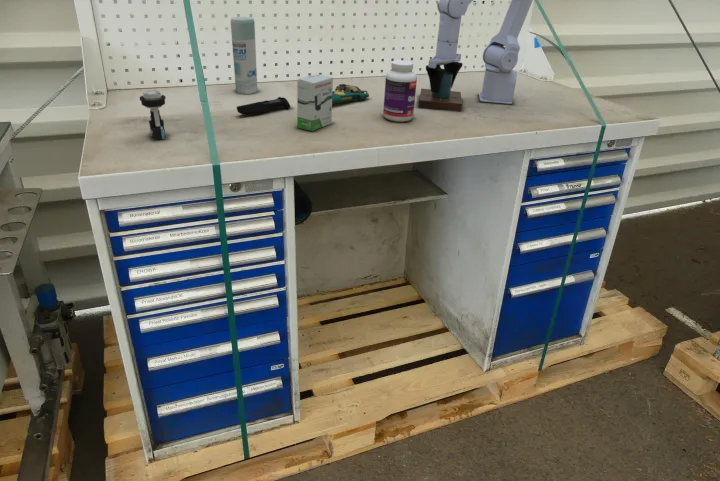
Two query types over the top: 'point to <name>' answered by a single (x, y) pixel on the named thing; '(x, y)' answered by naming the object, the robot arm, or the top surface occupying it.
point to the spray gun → (348, 94)
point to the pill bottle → (400, 92)
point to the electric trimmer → (263, 106)
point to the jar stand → (440, 101)
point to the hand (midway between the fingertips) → (441, 89)
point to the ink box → (314, 101)
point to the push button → (154, 112)
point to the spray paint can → (244, 54)
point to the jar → (444, 86)
